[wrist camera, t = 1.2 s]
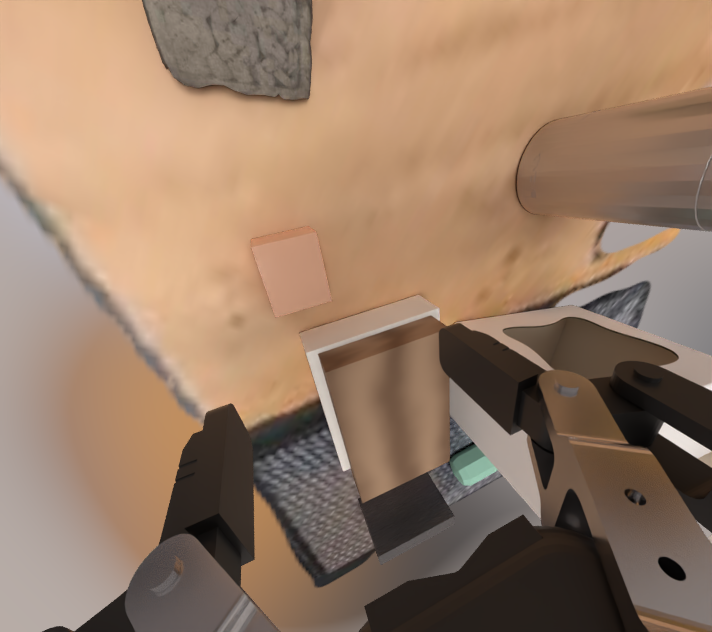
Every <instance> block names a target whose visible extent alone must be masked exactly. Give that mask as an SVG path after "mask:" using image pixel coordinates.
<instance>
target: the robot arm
mask: <svg viewBox="0 0 712 632" xmlns="http://www.w3.org/2000/svg"><path fill="white" fill-rule="evenodd" d="M517 193H518V197H519V200H520V203H521V204H522V206H523V207H524V209H526V210H527V211H528V212H530V213H533V214H539V215H549V216H559V217H568V218H578V219H588V220H598V221H608V222H618V223H628V224H639V225H649V226H659V227H669V228H679V229H690V230H699V231H712V87H707V88H703V89H698V90H693V91H689V92H684V93H679V94H675V95H670V96H665V97H661V98H656V99H651V100H647V101H642V102H637V103H633V104H628V105H623V106H619V107H614V108H609V109H605V110H599V111H595V112H590V113H586V114H581V115H576V116H572V117H567V118H563V119H558V120H554V121H552V122H550V123H548V124H546V125H545V126H544V127H543V128H541V129H540V130H539V131H538V132H537V133H536V135H535V136H534V137H533V138H532V140H531V141H530V143H529V144H528V146H527V148H526V150H525V152H524V154H523V156H522V159H521V162H520V165H519V169H518V175H517ZM439 360H440V364H441V367H442V369H443V371H444V372H445V373H446V375H447V376H448V377H450V378H451V379H452V380H453V381H454V382H455V383H456V384H457V385H458V386H459V387H460V388H461V389H462V390H463V391H464V392H465V393H466V394H467V395H468V396H469V397H470V398H472V399H473V400H474V401H475V402H476V403H477V404H478V405H479V406H480V407H481V408H482V409H483V410H484V411H485V412H486V413H487V414H488V415H489V416H490V417H491V418H492V419H494V420H495V421H496V422H497V423H498V424H499V425H500V426H501V427H502V428H503V429H504V430H505V431H506V432H507V433H508V434H509V435H510V436H511V435H513V434H515V433H517V432H519V431H521V430H523V431H524V432H525V433H526V434H527V444H528V449H529V453H530V457H531V461H532V465H533V469H534V474H535V478H536V482H537V486H538V490H539V495H540V502H541V524H542V526H532V525H531V523H530V522H529V521H528V520H527V519H526V517H525V516H524V515H522V516H520V517H518V518H516V519H515V520H513V521H511V522H509V523H508V524H506V525H504V526H503V527H501V528H499V529H497V530H496V531H494V532H492V533H491V534H489V535H488V536H487V537H486V538H485V539H484V541H483V542H482V543H481V544H480V546H479V547H478V548H477V549H476V551H475V552H474V553H473V554H472V555H471V557H470V558H469V559H468V560H467V562H466V563H465V564H464V565H463V567H462V568H461V569H460V570H459V571H457V572H455V573H450V574H445V575H439V576H434V577H428V578H423V579H417V580H411V581H407V582H406V583H404V584H402V585H400V586H399V587H397V588H395V589H393V590H392V591H390V592H388V593H387V594H385V595H383V596H381V597H380V598H378V599H376V600H375V601H373V602H371V603H369V604H367V605H366V606H365V610H366V614H367V617H368V621H367V622H366V623H365V625H364V626H363V627H362V628H361V629H360V630H359V632H712V545H711V543H710V542H709V540H708V539H707V537H706V536H705V534H704V532H703V531H702V529H701V528H700V526H699V524H698V523H697V521H698V522H699V523H700V524H701V525H703V526H704V527H705V528H706V529H708V530H709V531H710V532H711V533H712V468H711V467H710V466H708V465H707V464H705V463H704V462H702V461H701V460H699V459H697V458H696V457H694V456H693V455H691V454H690V453H688V452H687V451H685V450H683V449H682V448H680V447H679V446H677V445H676V444H674V443H673V442H671V441H670V440H668V439H666V438H665V437H663V436H662V435H660V434H659V431H660V429H661V427H662V425H663V423H664V422H665V423H666V424H668V425H670V426H671V427H673V428H675V429H676V430H678V431H679V432H681V433H683V434H684V435H686V436H688V437H689V438H691V439H693V440H694V441H696V442H698V443H699V444H701V445H703V446H704V447H706V448H707V449H709V450H711V451H712V391H711V390H709V389H707V388H705V387H703V386H701V385H699V384H696V383H694V382H692V381H690V380H688V379H686V378H684V377H682V376H679V375H677V374H675V373H673V372H671V371H669V370H667V369H664V368H662V367H660V366H657V365H654V364H650V363H646V362H640V361H624V362H620V363H618V364H617V365H616V366H615V368H614V371H613V374H612V376H610V377H602V378H593V379H586V378H584V377H583V376H581V375H579V374H576V373H573V372H570V371H565V370H549V371H546V370H545V369H543V368H541V367H540V366H538V365H537V364H535V363H533V362H532V361H530V360H528V359H527V358H525V357H524V356H522V355H520V354H519V353H517V352H516V351H514V350H512V349H509V347H508V346H506V345H504V344H503V343H500V342H499V341H498V340H496V339H495V338H493V337H491V336H490V335H488V334H485V333H482V332H479V331H475V330H473V331H472V330H470V329H469V328H467V327H465V326H464V325H462V324H461V323H455V324H453V325H450V326H447V327H444V328H441V329H440V331H439ZM175 480H176V483H175V484H174V488H173V491H172V495H171V500H170V503H169V507H168V511H167V515H166V519H165V523H164V527H163V531H162V535H161V539H160V542H159V545H158V546H157V547H156V548H155V549H154V550H153V551H152V552H151V553H150V554H149V555H148V556H147V557H146V558H145V559H144V561H143V562H142V563H141V565H140V566H139V567H138V569H137V571H136V572H135V574H134V576H133V578H132V580H131V582H130V584H129V587H128V589H127V590H126V591H125V592H124V593H123V594H121V595H120V596H119V597H118V598H117V599H115V600H114V601H113V602H111V603H110V604H109V605H108V606H106V607H105V608H104V609H103V610H101V611H100V612H99V613H97V614H96V615H95V616H94V617H92V618H91V619H90V620H88V621H87V622H86V623H85V624H83V625H82V626H81V627H79V628H78V629H77V630H76V631H72V630H70V629H68V628H65V627H63V626H57V627H53V628H49V629H47V630H45V631H43V632H280V631H279V630H278V628H277V627H276V626H275V625H274V624H273V623H272V622H271V620H270V619H269V618H268V617H267V616H266V615H265V614H264V613H263V611H262V610H261V609H260V608H259V607H258V606H257V605H256V604H255V602H254V601H253V600H252V599H251V598H250V597H249V596H248V594H247V593H246V592H245V591H244V590H243V589H242V588H241V586H240V585H241V566H242V565H244V564H246V563H248V562H251V561H253V560H254V500H253V499H254V495H253V448H252V443H251V439H250V436H249V433H248V431H247V429H246V428H245V426H244V424H243V422H242V420H241V418H240V416H239V414H238V413H237V411H236V409H235V407H234V405H233V404H231V403H230V404H228V405H225V406H222V407H219V408H216V409H214V410H211V411H208V412H207V413H206V415H205V420H204V426H203V430H202V431H200V432H197V433H194V434H193V435H192V436H191V438H190V440H189V441H188V443H187V444H186V446H185V447H184V449H183V451H182V455H181V459H180V463H179V469H178V471H177V475H176V479H175Z"/></svg>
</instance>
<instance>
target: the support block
mask: <svg viewBox="0 0 712 632" xmlns="http://www.w3.org/2000/svg"><path fill="white" fill-rule="evenodd" d="M251 249H252V252H253V255H254V258H255V260H256V263H257V266H258V269H259V272H260V275H261V278H262V281H263V284H264V286H265V289H266V292H267V295H268V298H269V301H270V304H271V307H272V309H273V312H274V315H275V318H277V317H280V316H284V315H287V314H290V313H294V312H297V311H301V310H304V309H307V308H311V307H314V306H317V305H321V304H324V303H328V302H331V301H332V298H331V294H330V289H329V285H328V281H327V276H326V272H325V267H324V263H323V258H322V254H321V250H320V245H319V241H318V236H317V232H316V231H314V230H313V229H311V228H310V227H309V226H306V227H302V228H298V229H293V230H289V231H285V232H280V233H276V234H271V235H267V236H263V237H258V238H254V239H251Z"/></svg>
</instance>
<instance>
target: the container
mask: <svg viewBox="0 0 712 632" xmlns="http://www.w3.org/2000/svg"><path fill="white" fill-rule="evenodd" d="M450 466H451V468H452V471H453V473H454V475H455V476H456V478H457V479H458V480H459V481H460V483H462V484H463V485H473V484H475V483H476V482H478V481H480V480H482V479H483V478H485V477H487V476H489V475H490V474H492V473H494V472H496V471H497V468H496V467H495V466H494V465H493V464H492V463H491V462H490V460H489V459H488V458H487V457H486V456H485V455H484V454H483V452H482V451H481V450H480V449H479V448H478V447H477V446H476V444H473V445H472V446H470V447H468V448H466V449H464V450H463V451H461V452H459V453H457V454H455V455H454V456H453V457H452V458H451V459H450Z"/></svg>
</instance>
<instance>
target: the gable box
mask: <svg viewBox="0 0 712 632" xmlns="http://www.w3.org/2000/svg"><path fill="white" fill-rule="evenodd" d="M455 323H461V324H462V325H464V326H465V327H467V328H469V329H470V330H472V331H473V330H475V331H479V332H482V333H485V334H488V335H490V336H491V337H493V338H495V339H496V340H498V341H499V342H500V343H503V344H504V345H506V346H508V347H509V349H512V350H514V351H516V352H517V353H519V354H520V355H522V356H524V357H525V358H527V359H528V360H530V361H532V362H533V363H535V364H537V365H538V366H540V367H541V368H543V369H545V370H546V371H549V370H565V371H570V372H573V373H576V374H579V375H581V376H583V377H584V378H586V379H593V378H602V377H610V376H612V374H613V371H614V368H615V366H616V365H617V364H618V363H620V362H624V361H640V362H646V363H650V364H654V365H657V366H660V367H662V368H664V369H667V370H669V371H671V372H673V373H675V374H677V375H679V376H682V377H684V378H686V379H688V380H690V381H692V382H694V383H696V384H699V385H701V386H703V387H705V388H707V389H709V390H711V391H712V356H710V355H707V354H704V353H702V352H699V351H696V350H694V349H691V348H688V347H686V346H682V345H680V344H677V343H675V342H672V341H669V340H666V339H664V338H661V337H658V336H655V335H653V334H650V333H648V332H645V331H642V330H639V329H637V328H634V327H631V326H629V325H626V324H623V323H620V322H618V321H615V320H612V319H610V318H607V317H604V316H601V315H599V314H596V313H593V312H591V311H588V310H585V309H582V308H580V307H577V306H574V305H568V306H562V307H555V308H548V309H542V310H535V311H528V312H522V313H515V314H508V315H502V316H495V317H488V318H482V319H475V320H468V321H462V322H455ZM455 323H454V324H455ZM450 416H451V417H452V418H453V419H454V420H455V422H456V423H457V424H458V425H459V426H460V427H461V428H462V430H463V431H464V432H465V433H466V434H467V435H468V436H469V438H470V439H471V440H472V441H473V442H474V443H475V444H476V446H477V447H478V448H479V449H480V450H481V451H482V452H483V454H484V455H485V456H486V457H487V458H488V459H489V460H490V462H491V463H492V464H493V465H494V466H495V467H496V468H497V470H498V471H499V472H500V473H501V474H502V475H503V476H504V477H505V479H506V480H507V481H508V482H509V483H510V484H511V486H512V487H513V488H514V489H515V490H516V491H517V492H518V493H519V495H520V496H521V497H522V498H523V499H524V500H525V502H526V503H527V504H528V505H529V506H530V507H531V508H532V510H533V511H534V512H535V513H536V514H537V515H538V516H539V518H540V519H541V502H540V495H539V490H538V486H537V482H536V478H535V474H534V469H533V465H532V461H531V457H530V453H529V449H528V444H527V434H526V433H525V432H524V431H523V430H521V431H519V432H517V433H515V434H513V435H511V436H510V435H509V434H508V433H507V432H506V431H505V430H504V429H503V428H502V427H501V426H500V425H499V424H498V423H497V422H496V421H495V420H494V419H492V418H491V417H490V416H489V415H488V414H487V413H486V412H485V411H484V410H483V409H482V408H481V407H480V406H479V405H478V404H477V403H476V402H475V401H474V400H473V399H472V398H470V397H469V396H468V395H467V394H466V393H465V392H464V391H463V390H462V389H461V388H460V387H459V386H458V385H457V384H456V383H455V382H454V381H453V380H452V379H451V378H450ZM659 434H660V435H662V436H663V437H665V438H666V439H668V440H670V441H671V442H673V443H674V444H676V445H677V446H679V447H680V448H682V449H683V450H685V451H687V452H688V453H690V454H691V455H693V456H694V457H696V458H697V459H699V460H701V461H702V462H704V463H705V464H707V465H708V466H710V467H711V468H712V451H711V450H709V449H707V448H706V447H704V446H703V445H701V444H699V443H698V442H696V441H694V440H693V439H691V438H689V437H688V436H686V435H684V434H683V433H681V432H679V431H678V430H676V429H675V428H673V427H671V426H670V425H668V424H666V423H665V422H664V423H663V425H662V427H661V429H660V431H659ZM707 539H708V540H709V542H710V543H711V545H712V535H711V536H709V537H708V538H707Z"/></svg>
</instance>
